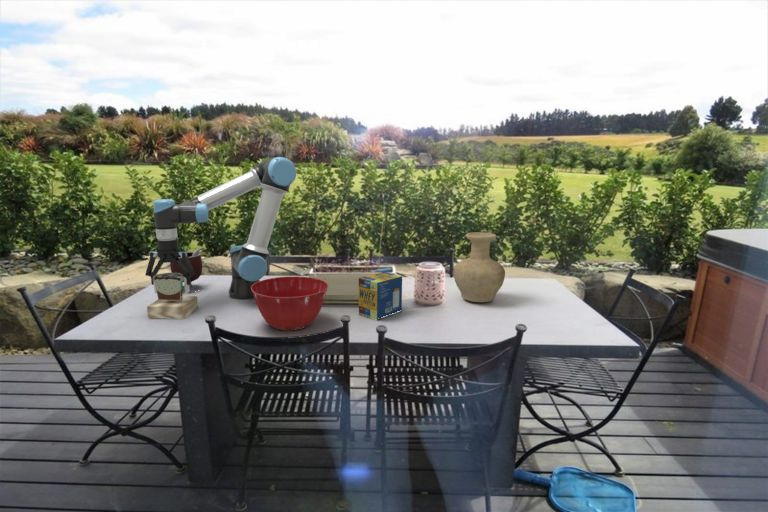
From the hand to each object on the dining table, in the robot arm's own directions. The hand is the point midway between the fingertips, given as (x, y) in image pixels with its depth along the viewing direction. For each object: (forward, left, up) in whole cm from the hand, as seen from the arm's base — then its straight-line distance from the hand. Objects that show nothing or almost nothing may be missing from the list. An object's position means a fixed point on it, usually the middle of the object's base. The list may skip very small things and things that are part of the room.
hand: (172, 292), depth 182 cm
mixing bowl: (-50, +13, -9) cm, 52 cm away
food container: (0, 0, -3) cm, 3 cm away
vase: (-128, -18, -9) cm, 129 cm away
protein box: (-84, 0, -9) cm, 84 cm away
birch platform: (0, 0, -9) cm, 9 cm away
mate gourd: (+7, -34, -9) cm, 36 cm away
